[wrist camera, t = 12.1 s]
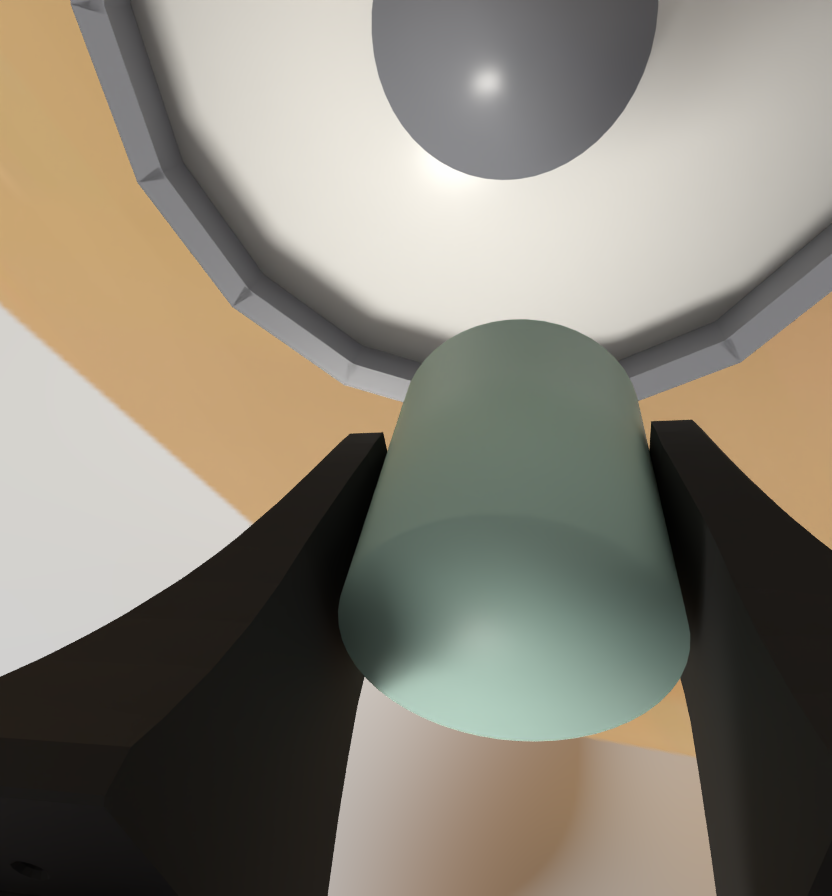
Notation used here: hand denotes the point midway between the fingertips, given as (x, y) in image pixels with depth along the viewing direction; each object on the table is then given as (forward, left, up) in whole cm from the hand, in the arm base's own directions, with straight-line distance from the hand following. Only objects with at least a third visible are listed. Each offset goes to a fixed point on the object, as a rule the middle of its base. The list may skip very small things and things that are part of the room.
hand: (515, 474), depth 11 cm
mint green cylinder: (0, 0, -1) cm, 1 cm away
